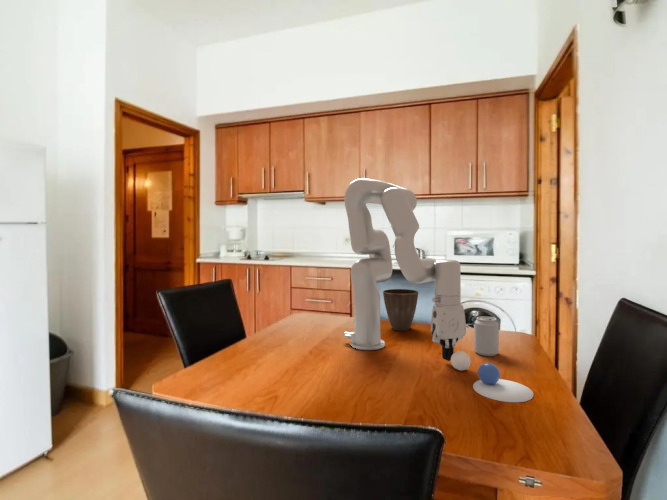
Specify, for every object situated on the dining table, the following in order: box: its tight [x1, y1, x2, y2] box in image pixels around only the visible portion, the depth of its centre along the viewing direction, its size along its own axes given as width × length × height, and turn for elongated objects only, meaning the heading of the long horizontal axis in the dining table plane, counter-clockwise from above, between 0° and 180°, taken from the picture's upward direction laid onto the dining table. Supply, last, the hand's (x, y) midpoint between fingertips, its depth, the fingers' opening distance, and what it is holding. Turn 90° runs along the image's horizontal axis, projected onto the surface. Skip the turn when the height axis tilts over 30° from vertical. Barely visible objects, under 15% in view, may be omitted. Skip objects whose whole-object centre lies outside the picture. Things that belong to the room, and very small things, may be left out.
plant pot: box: [382, 288, 419, 331], centre depth 158 cm, size 15×15×16 cm
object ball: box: [477, 362, 501, 384], centre depth 99 cm, size 6×6×6 cm
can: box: [474, 315, 500, 357], centre depth 124 cm, size 8×8×12 cm
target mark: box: [472, 378, 534, 403], centre depth 95 cm, size 14×14×1 cm
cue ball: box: [450, 350, 471, 372], centre depth 109 cm, size 6×6×6 cm
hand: (447, 359), depth 114 cm, fingers closed
